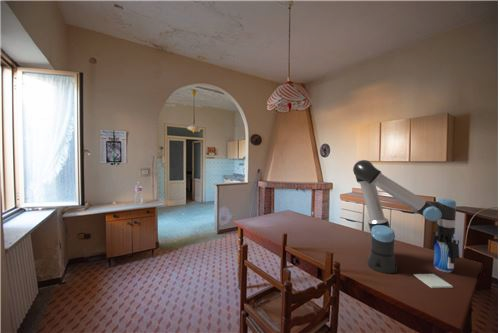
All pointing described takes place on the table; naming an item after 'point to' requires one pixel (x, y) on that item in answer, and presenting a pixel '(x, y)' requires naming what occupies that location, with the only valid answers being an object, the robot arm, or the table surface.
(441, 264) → the beer can
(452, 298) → the table surface
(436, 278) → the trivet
